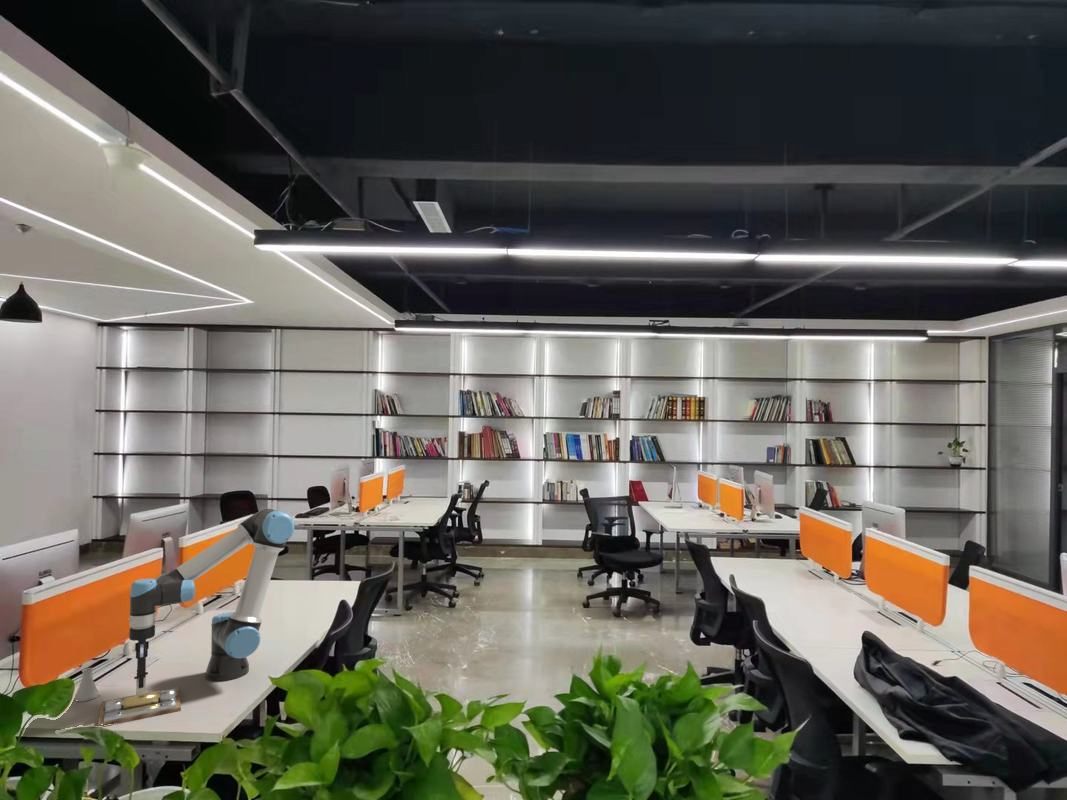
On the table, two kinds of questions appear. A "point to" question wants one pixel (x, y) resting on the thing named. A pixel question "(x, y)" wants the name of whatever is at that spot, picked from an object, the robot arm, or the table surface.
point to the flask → (86, 687)
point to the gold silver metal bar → (140, 700)
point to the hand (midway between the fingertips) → (140, 696)
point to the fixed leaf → (115, 707)
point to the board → (178, 708)
